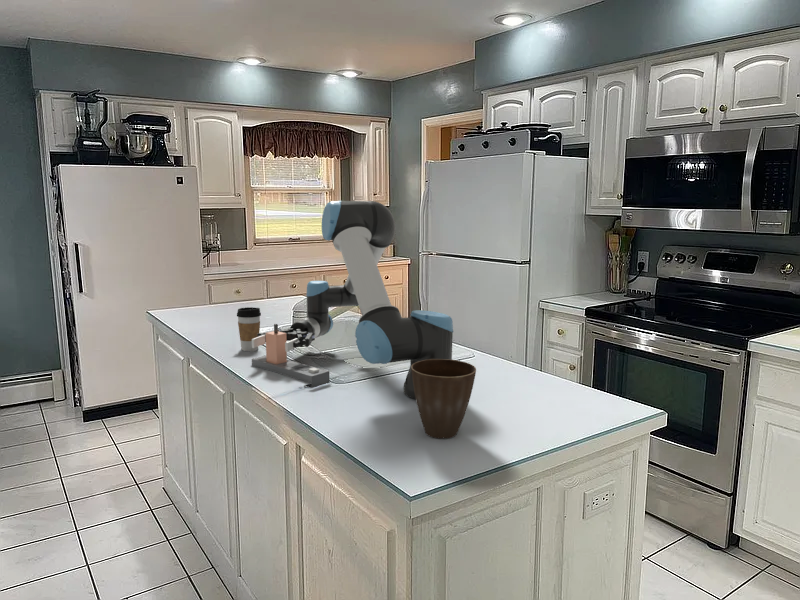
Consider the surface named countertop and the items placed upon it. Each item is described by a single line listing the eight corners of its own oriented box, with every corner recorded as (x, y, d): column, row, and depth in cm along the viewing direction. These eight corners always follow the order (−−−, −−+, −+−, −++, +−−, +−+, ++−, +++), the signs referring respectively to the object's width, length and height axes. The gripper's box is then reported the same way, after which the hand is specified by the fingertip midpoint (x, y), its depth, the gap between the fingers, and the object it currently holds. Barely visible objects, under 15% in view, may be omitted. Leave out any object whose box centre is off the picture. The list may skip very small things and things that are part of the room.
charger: (286, 367, 191) (286, 323, 188) (276, 370, 188) (275, 325, 185) (276, 364, 194) (275, 321, 191) (266, 367, 191) (265, 323, 188)
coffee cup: (248, 353, 213) (246, 311, 211) (232, 349, 218) (231, 308, 216) (266, 348, 220) (265, 307, 217) (251, 345, 225) (250, 305, 222)
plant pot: (468, 421, 151) (471, 358, 148) (478, 445, 136) (481, 376, 134) (408, 421, 151) (409, 358, 148) (411, 445, 136) (413, 376, 133)
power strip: (329, 382, 181) (329, 368, 180) (311, 388, 176) (311, 373, 175) (269, 365, 199) (269, 352, 198) (251, 369, 193) (251, 356, 193)
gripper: (336, 345, 203) (303, 361, 182) (274, 338, 211) (236, 353, 190) (335, 322, 202) (303, 336, 181) (273, 317, 209) (236, 330, 189)
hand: (269, 345), depth 186 cm, fingers open, 11 cm apart
